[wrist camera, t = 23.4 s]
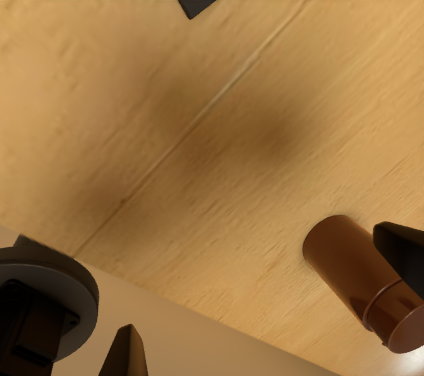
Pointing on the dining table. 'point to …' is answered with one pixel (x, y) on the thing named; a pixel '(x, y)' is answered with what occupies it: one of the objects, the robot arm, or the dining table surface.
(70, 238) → the dining table surface
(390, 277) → the jam jar
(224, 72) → the dining table surface
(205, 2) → the rubber mat
